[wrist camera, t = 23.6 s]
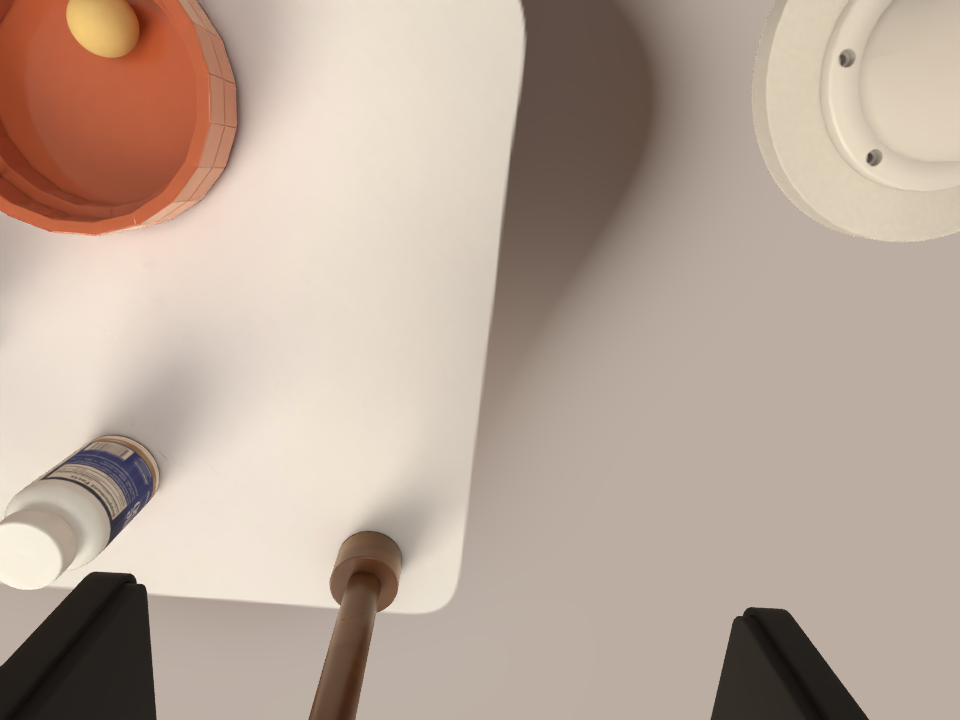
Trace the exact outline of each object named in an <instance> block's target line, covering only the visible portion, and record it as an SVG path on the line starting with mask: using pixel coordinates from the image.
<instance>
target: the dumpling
mask: <svg viewBox="0 0 960 720" xmlns="http://www.w3.org/2000/svg"><path fill="white" fill-rule="evenodd" d="M66 17H67V23H68V26H69V28H70V31H71V32H72V34H73V36H74V37H75V39H76V40H77V41H78V42H79V43H80V44H81V45H82V46H83V47H84V48H85V49H87V50H88V51H90V52H92V53H94V54H96V55H99V56H102V57H107V58H116V57H121V56H124V55H126V54H128V53H129V52H130V51H131V50H132V49H133V48H134V47H135V46H136V44H137V42H138V38H139V31H140V30H139V22H138V19H137V16H136V14H135V12H134V10H133V9H132V7H131V6H130V4H129V3H128V2H127V1H126V0H69V2H68V5H67V10H66Z"/></svg>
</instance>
